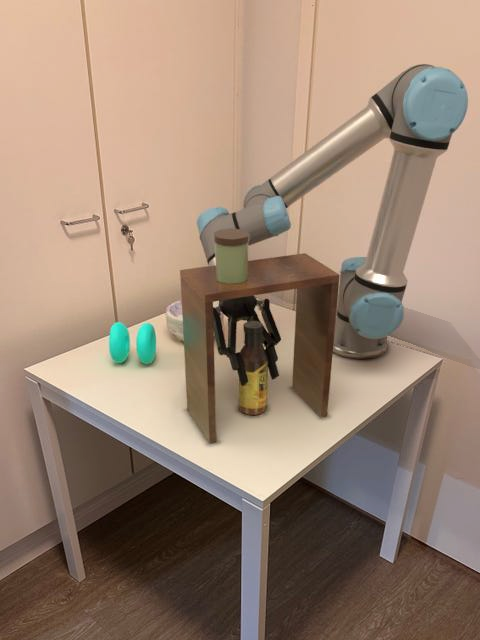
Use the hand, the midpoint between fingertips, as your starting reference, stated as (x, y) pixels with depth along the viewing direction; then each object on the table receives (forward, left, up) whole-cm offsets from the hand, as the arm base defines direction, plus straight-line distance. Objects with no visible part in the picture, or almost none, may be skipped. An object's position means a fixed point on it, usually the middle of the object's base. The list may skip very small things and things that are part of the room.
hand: (260, 380), depth 131 cm
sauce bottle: (+1, -3, -9) cm, 10 cm away
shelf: (+1, -1, -9) cm, 9 cm away
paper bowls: (+14, -41, -9) cm, 45 cm away
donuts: (+29, -27, -9) cm, 41 cm away
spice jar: (+6, +2, +23) cm, 23 cm away
